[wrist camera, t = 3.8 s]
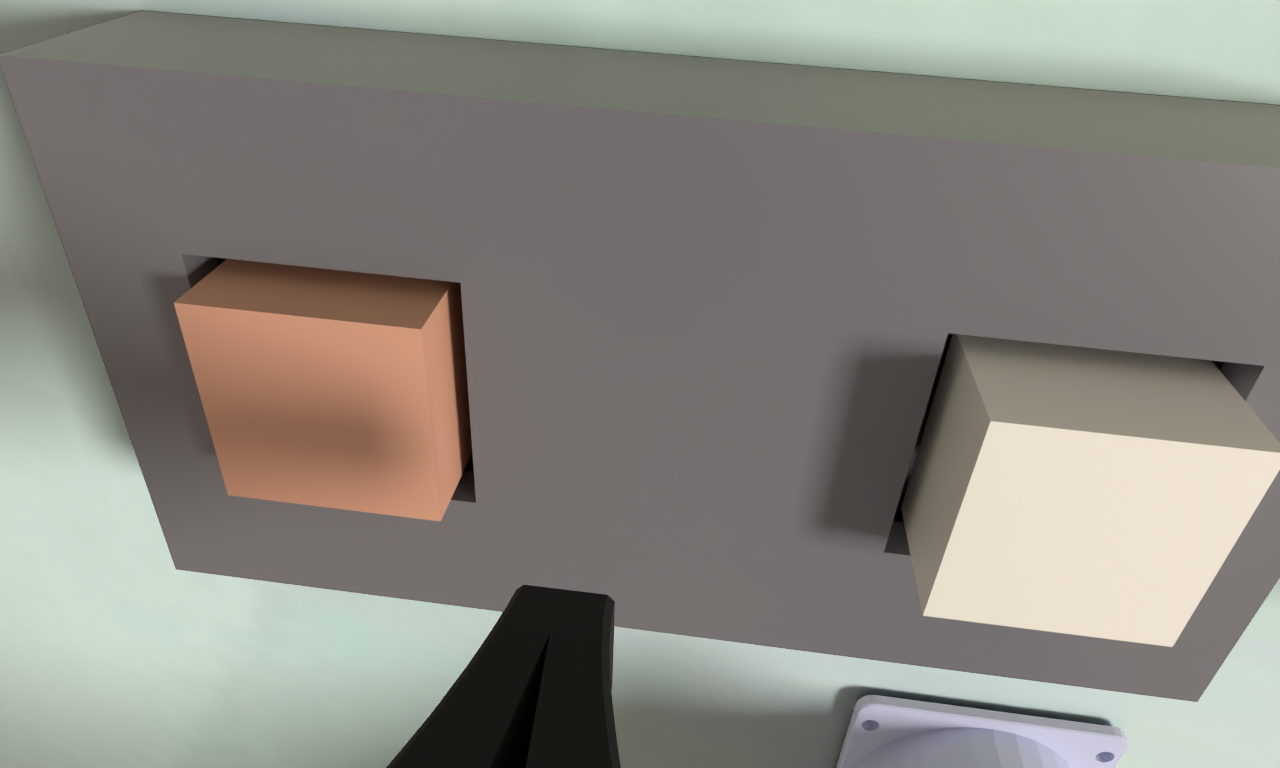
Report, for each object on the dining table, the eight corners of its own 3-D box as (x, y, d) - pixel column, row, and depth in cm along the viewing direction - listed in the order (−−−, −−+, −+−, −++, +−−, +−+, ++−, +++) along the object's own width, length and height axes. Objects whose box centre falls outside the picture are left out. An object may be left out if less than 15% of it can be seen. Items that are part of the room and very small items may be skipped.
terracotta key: (480, 433, 20) (440, 521, 17) (293, 411, 20) (227, 495, 18) (469, 256, 17) (421, 329, 15) (256, 234, 18) (173, 302, 15)
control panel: (1132, 571, 23) (1197, 701, 19) (256, 466, 24) (175, 569, 21) (1374, 113, 16) (1536, 190, 13) (141, 10, 17) (-4, 54, 14)
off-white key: (1116, 533, 18) (1172, 647, 16) (901, 508, 18) (923, 615, 16) (1204, 353, 16) (1289, 454, 13) (955, 327, 16) (990, 420, 13)
